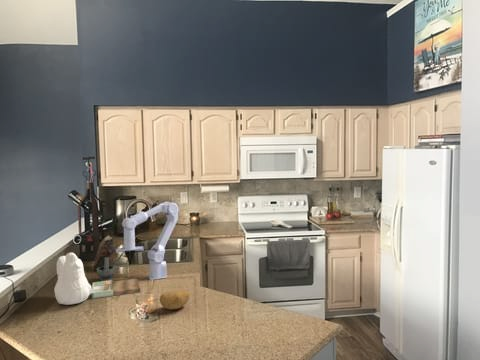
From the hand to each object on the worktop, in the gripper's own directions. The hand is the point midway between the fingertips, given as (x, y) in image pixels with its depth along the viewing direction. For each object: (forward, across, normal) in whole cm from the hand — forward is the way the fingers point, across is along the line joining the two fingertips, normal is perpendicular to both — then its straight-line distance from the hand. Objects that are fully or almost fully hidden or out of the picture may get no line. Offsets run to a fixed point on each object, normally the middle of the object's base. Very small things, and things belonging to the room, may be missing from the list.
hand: (130, 264), depth 209 cm
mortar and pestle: (+11, +12, -12) cm, 21 cm away
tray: (+11, +14, +8) cm, 20 cm away
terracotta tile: (+8, +11, +10) cm, 17 cm away
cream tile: (+10, +16, +9) cm, 21 cm away
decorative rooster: (+11, +28, +14) cm, 34 cm away
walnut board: (+10, +3, +8) cm, 14 cm away
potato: (+11, -16, +45) cm, 49 cm away
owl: (+11, +14, -35) cm, 39 cm away
